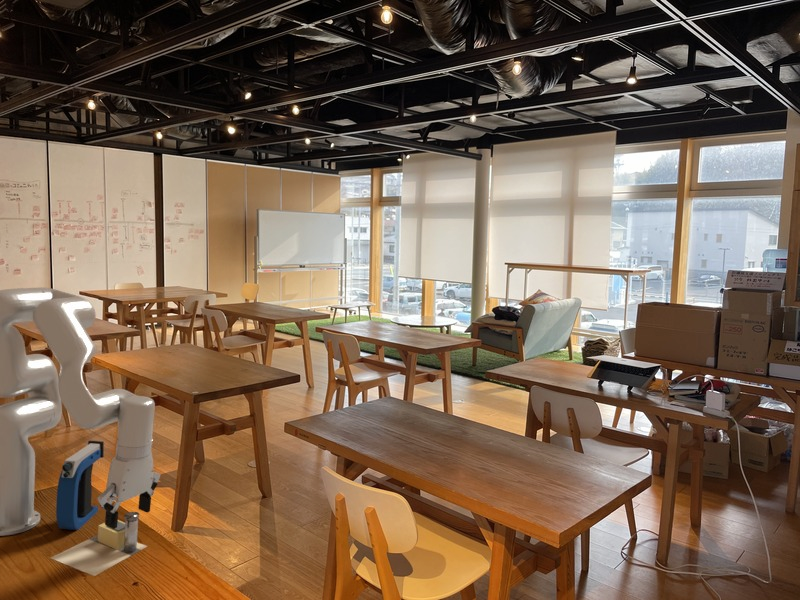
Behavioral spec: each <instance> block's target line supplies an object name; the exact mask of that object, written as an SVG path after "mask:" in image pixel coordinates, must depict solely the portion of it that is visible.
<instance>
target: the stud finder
mask: <svg viewBox="0 0 800 600" xmlns="http://www.w3.org/2000/svg"><path fill="white" fill-rule="evenodd" d="M97 527H98V528H97V535H98V541H99V542H101V543H103V544H105V545H107V546H109V547H112V548H114V549H116V550H118V549H120V548H122V547H124V534H125V521H123V520H122V521H121V520H119V519H118V523H117V528H115V529H113V528H111V527H109V526H106V525H105V522H103V523H101V524H98V526H97Z"/></svg>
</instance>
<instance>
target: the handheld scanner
mask: <svg viewBox="0 0 800 600" xmlns="http://www.w3.org/2000/svg"><path fill="white" fill-rule="evenodd" d="M104 445H105V444H104V441H100V440H88V442H87V445H86V446H84V447H83V448H81V449H79V450H78V451H77V452H75V453H74V454H72V455H70V456H69V457H68V458H66V459H65V460H64V461H63V465H62V466H61V468H62V470H61V472H60V475H59V478H58V481H57V482H58V483H57V492H56V507H55V509H56V510H55V512H56V513H55V515H56V516H55V517H56V523H57V526H58V528H59V529H61V530H74V531H78V530H80V529H81V528H82V527H83V526H84V525H85V524H87V522H88V521H89V520H91V519H92V517H93V516H95V515H96V513H98V512H99V506H97V505H92V491H93V490H92V489H93V486H92V474H93V473H92V472H93V467H94V463H96V462H97V461H99V460H100V459H101V458H104V457H105V451H104V450H105V447H104Z"/></svg>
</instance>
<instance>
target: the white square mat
mask: <svg viewBox="0 0 800 600" xmlns="http://www.w3.org/2000/svg"><path fill="white" fill-rule="evenodd" d="M147 547H149V546H148V545H146V544H144V543H143V544H142V543H140V542H137V550H136V551H135V552H133V553H125V552H124V547H122V548H120V549H118V550H116V549H114V548H112V547H109V546H107V545H105V544H103V543H101V542H99V541H98V534H96V535H94V536H92V537H90V538H89V539H86V540H84V541H82V542H80V543H78V544H76V545H74V546H72V547H69V548H68V549H66V550H63V551H62V552H60V553H58V554H55V555H53V556H51V557H50V559H51V560H53V561H56V562H58V563H61V564H63V565H66V566H69V567H71V568H74V569H75V570H78V571H81V572H83V573H85V574H88V575H91V576H93V577H95V576H97V575H99V574H101V573H103V572H105V571H106V570H109V569H110V568H112V567H113V566H116V565H117V564H118V563H121V562H123V561H124V560H126V559H128V558H130V557H131V556H134V555H135V554H137V553H138V552H140V551H142V550H144V549H145V548H147Z"/></svg>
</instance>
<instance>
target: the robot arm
mask: <svg viewBox="0 0 800 600" xmlns="http://www.w3.org/2000/svg"><path fill="white" fill-rule="evenodd" d="M96 316H97V313H96V310H95V308H94V306H93V304H92V303H91V302H90V301H89V300H88V299H86V298H84V297H83V296H79V295H76V294H72V293H69V292H65V291H63V290H58V289H54V288H50V287H26V288H23V287H22V288H21V287H20V288H18V287H17V288H8V289H7V288H6V289H0V399H1V398H6V399H7V398H11V397H17V396H20V395H24V394H27V396H28V397H26V398H21V399H18V400H14V401H11V402H7V403H4V404H1V405H0V536H3V537H4V536H10V535H11V536H12V535H17V534H20V533H24V532H26V531H29V530H30V529H33V528H35V526H38V524H39V523H40V522H41V514H40V512H38V511H37V510H35V509H34V508H35V507H34V506H35V501H34V500H35V484H36V483H35V478H36V475H35V474H36V452H35V449H34V448H33V446H32V445H31V444H30V442H29V437H32V436H34V435H37V434H39V433H43V432H46V431H49V430H51V429H53V428H55V427H56V426H57V425H58V424H59V423H60V421H61V419H62V414H63V406H64V408H65V410H66V411H67V413H68V414H69V416H70V417H71V419H72V420H73V422H74V423H76V425H77V426H79V427H80V428H81V429H84V430H96V429H98V428H102V427H104V426H107V425H110V424H112V423H117V422H118V425H117V426H118V427H117V437H116V438H117V439H116V447H115V448H116V450H115V456H113V457H112V460H111V462H110V466H109V469H108V474H107V480H106V486H105V487H106V488H105V490H104V491H102V493H101V494H99V496H98V497H97V501H98V503H99V507H101V508H102V509H103V510H105V518H104V523H105V525H106V526H109V527H111V528H113V529H115V528H117V523H118V520H119V511H118V508H119V507H120V506H121V504H122V503H123V502H125V501H128V500H130V499H132V498H135V497H137V496H139V497H138V498H139V499H138V507H137V509H138V510H139V511H142V512H145V513H150V512H151V504H152V503H151V502H152V496H153V495H154V494H155V489H156V488H157V487H158V483H159V480H160V478H161V473H158V472H156V471H155V472H154V459H153V452H152V445H153V444H154V439H153V433H154V432H153V431H154V421H155V420H154V419H155V410H156V409H155V408H156V403H155V400H154V399H153V398H151V397H148V396H143V395H137V394H134V393H133V392H131V391H129V390H127V389H124V388H114V389H110V390H106V391H102V392H99V393H96V394H91V392H90V391H89V389H88V387H87V385H86V384H85V382H84V377H83V370H84V366H85V364H87V363H88V362H90V360H92V358H93V357H95V355H96V353H97V350H98V349H97V346H96V345H95V343H94V341H93V340H92V338H91V336H90V335H89V334H88V331H87V329H88V328H91V327H92V326H93V325H94V323H95V321H96ZM30 322H31V323H32V322H34V324H35V327H37V329H38V331H39V333H40V334H41V336H42V338H43V339H44V340H45V342H46V344H47V345H48V347H49V349H50V350H51V352H52V353H53V355H54V357H55V358H56V360H57V362H58V363H59V366H60V370H59V373H58V369H57V367H56V365H55V363H54V361H53V360H52V359H51V358H50V357H49V356H47V355H45V354H42V353H33V354H32V353H31V354H27V351H26V346H25V340H24V337H23V335H22V334H21V333H20V331H19V330H18V329H17V327H15V324H19V323H30ZM62 405H63V406H62ZM114 501H115V502H114ZM113 503H114V504H113ZM112 504H113V505H112Z"/></svg>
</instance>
